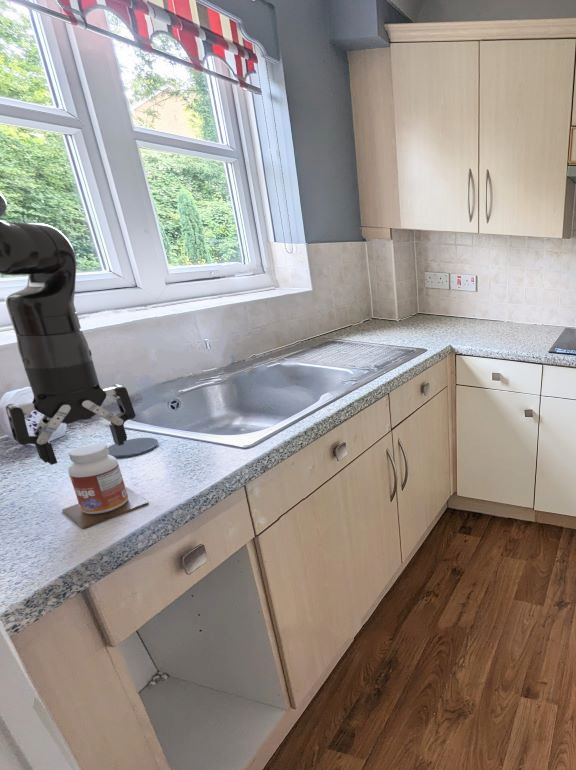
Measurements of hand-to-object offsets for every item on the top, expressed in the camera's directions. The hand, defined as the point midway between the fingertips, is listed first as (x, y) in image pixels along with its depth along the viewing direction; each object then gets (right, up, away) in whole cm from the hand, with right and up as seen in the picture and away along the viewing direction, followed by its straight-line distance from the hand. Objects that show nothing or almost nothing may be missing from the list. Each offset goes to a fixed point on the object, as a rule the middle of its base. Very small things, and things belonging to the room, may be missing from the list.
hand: (87, 453), depth 76 cm
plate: (-14, -2, +24) cm, 28 cm away
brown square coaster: (0, -10, +4) cm, 11 cm away
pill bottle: (0, -10, +4) cm, 11 cm away
